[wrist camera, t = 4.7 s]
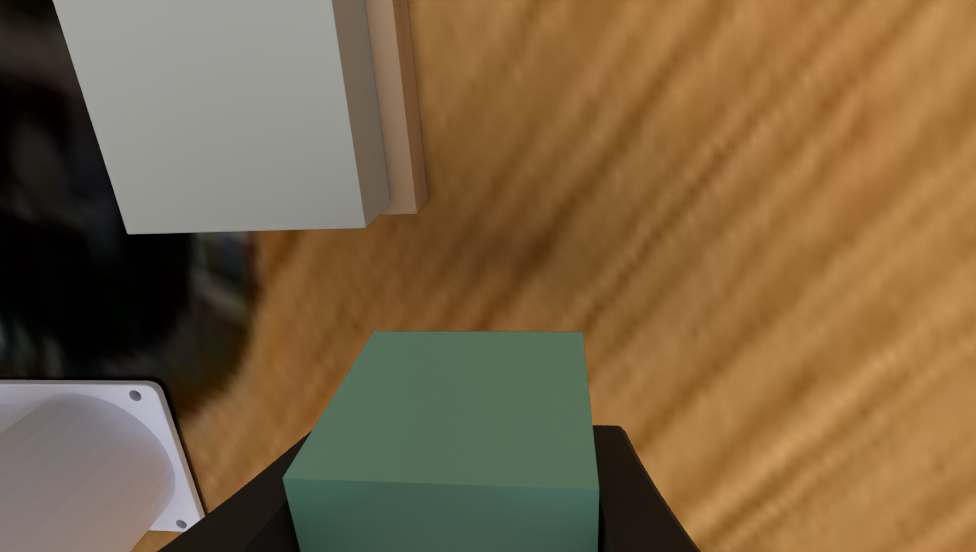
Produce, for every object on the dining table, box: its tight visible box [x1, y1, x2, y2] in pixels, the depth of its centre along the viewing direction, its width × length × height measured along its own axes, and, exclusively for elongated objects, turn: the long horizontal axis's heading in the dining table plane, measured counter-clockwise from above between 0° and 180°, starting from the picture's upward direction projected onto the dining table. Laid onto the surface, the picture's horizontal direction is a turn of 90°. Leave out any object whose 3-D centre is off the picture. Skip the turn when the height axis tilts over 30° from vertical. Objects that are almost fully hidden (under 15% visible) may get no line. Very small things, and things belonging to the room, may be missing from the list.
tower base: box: [364, 0, 428, 215], centre depth 17 cm, size 8×8×2 cm
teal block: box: [282, 331, 599, 552], centre depth 10 cm, size 4×4×4 cm
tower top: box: [53, 0, 391, 234], centre depth 15 cm, size 7×7×2 cm
